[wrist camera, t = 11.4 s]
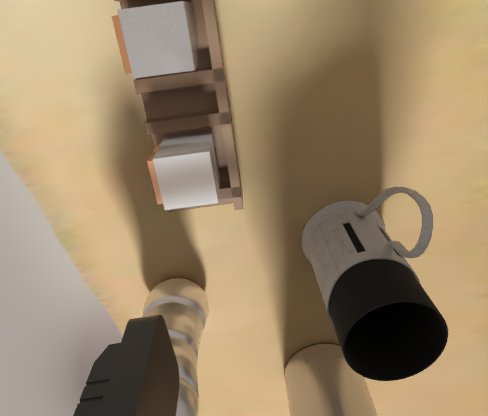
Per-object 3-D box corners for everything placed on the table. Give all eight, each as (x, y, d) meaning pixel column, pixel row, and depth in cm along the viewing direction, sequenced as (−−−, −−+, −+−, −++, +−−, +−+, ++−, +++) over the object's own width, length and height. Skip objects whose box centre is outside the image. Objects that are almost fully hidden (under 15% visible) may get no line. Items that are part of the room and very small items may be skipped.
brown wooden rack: (242, 193, 40) (244, 232, 33) (171, 202, 41) (159, 244, 33) (207, -43, 32) (201, -59, 25) (118, -30, 32) (86, -42, 25)
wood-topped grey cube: (200, 60, 33) (194, 70, 28) (141, 68, 33) (124, 79, 28) (191, 2, 31) (183, 0, 26) (129, 11, 31) (108, 11, 26)
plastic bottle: (216, 310, 46) (207, 501, 28) (158, 323, 47) (114, 517, 29) (200, 264, 44) (179, 441, 26) (139, 277, 44) (76, 460, 26)
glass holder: (293, 268, 44) (320, 381, 31) (325, 141, 38) (377, 212, 25) (371, 278, 45) (431, 392, 32) (415, 155, 39) (512, 230, 26)
